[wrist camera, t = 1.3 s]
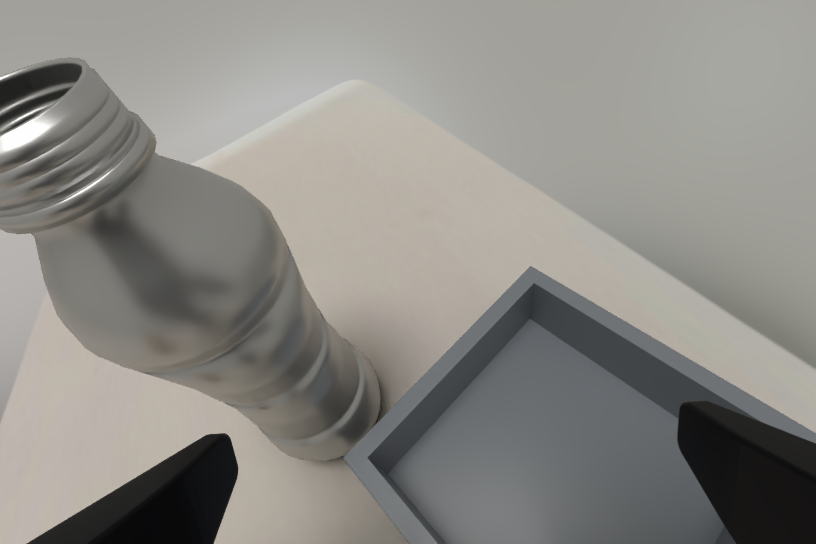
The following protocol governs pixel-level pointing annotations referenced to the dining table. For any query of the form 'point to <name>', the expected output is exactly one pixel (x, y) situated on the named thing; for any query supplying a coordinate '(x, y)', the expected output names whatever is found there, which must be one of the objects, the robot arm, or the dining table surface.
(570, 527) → the tote
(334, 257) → the dining table surface
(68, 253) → the plastic bottle
